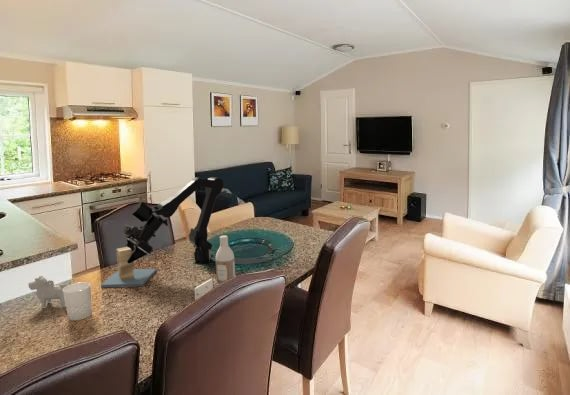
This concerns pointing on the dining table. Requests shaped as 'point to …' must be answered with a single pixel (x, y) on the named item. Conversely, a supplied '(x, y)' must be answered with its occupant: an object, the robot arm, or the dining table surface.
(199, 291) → the white angled block
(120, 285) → the rubber mat
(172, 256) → the dining table surface
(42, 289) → the grey animal figurine
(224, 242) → the bath foam
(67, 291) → the white cup
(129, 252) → the oak block
